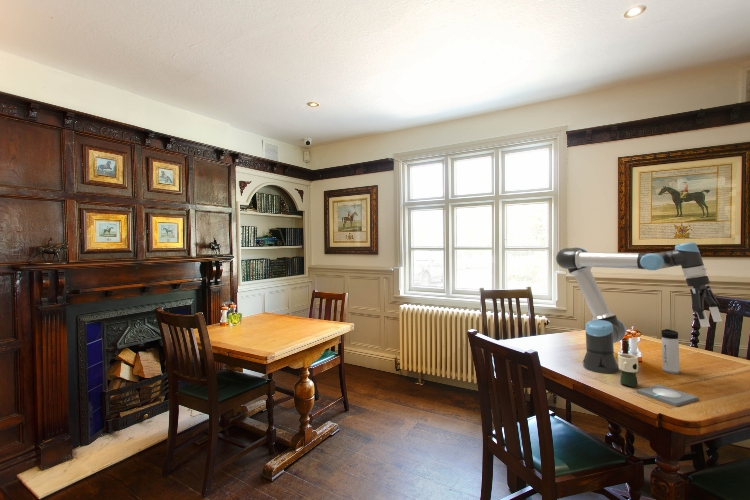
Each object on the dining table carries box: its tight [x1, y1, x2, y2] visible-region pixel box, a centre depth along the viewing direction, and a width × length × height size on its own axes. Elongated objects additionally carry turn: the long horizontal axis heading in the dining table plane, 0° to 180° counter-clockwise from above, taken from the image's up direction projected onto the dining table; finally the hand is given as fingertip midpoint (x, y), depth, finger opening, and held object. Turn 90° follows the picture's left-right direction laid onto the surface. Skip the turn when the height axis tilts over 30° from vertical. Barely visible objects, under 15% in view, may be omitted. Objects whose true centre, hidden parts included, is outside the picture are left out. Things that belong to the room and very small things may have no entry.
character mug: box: [617, 353, 639, 388], centre depth 151 cm, size 11×7×13 cm, turn 130°
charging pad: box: [636, 384, 699, 407], centre depth 139 cm, size 14×14×2 cm
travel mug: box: [660, 328, 681, 375], centre depth 165 cm, size 6×7×20 cm
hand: (712, 324), depth 149 cm, fingers open, 13 cm apart
